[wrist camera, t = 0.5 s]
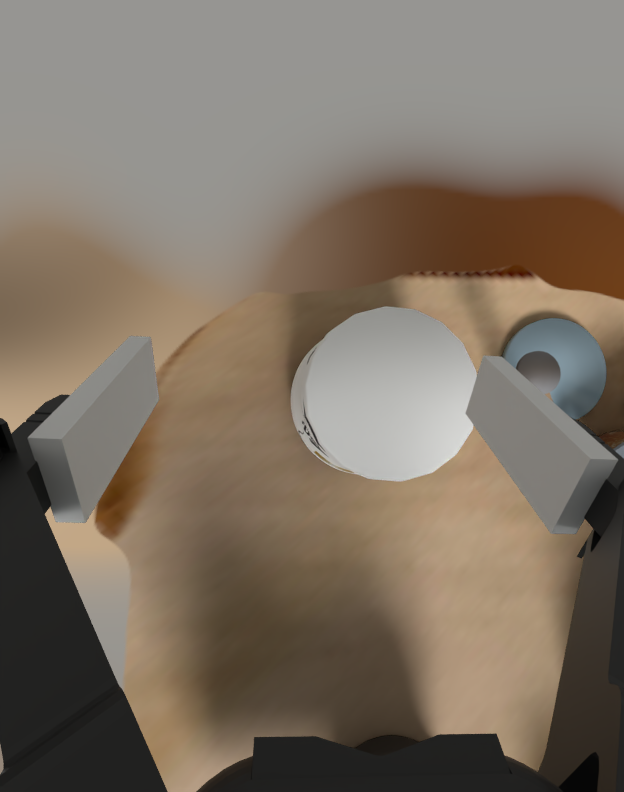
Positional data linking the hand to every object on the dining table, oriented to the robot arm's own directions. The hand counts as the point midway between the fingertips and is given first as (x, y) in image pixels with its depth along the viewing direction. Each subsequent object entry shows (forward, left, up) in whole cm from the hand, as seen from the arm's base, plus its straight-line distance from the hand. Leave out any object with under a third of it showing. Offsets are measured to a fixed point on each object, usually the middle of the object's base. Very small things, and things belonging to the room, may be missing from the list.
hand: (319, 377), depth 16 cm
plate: (-14, -32, -35) cm, 50 cm away
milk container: (-4, -7, -35) cm, 36 cm away
